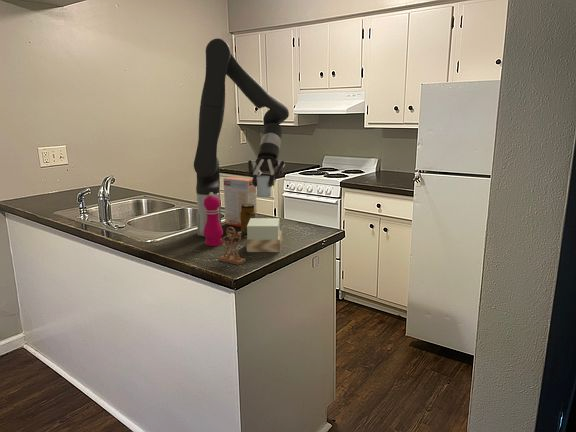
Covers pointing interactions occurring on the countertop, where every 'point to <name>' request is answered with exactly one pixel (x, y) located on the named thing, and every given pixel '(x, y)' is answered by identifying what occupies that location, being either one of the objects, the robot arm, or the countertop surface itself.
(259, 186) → the blue round block
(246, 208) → the condiment
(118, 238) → the countertop surface
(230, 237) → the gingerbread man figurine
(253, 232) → the sage top block
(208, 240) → the pepper mill
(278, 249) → the maple base block
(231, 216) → the cracker box
